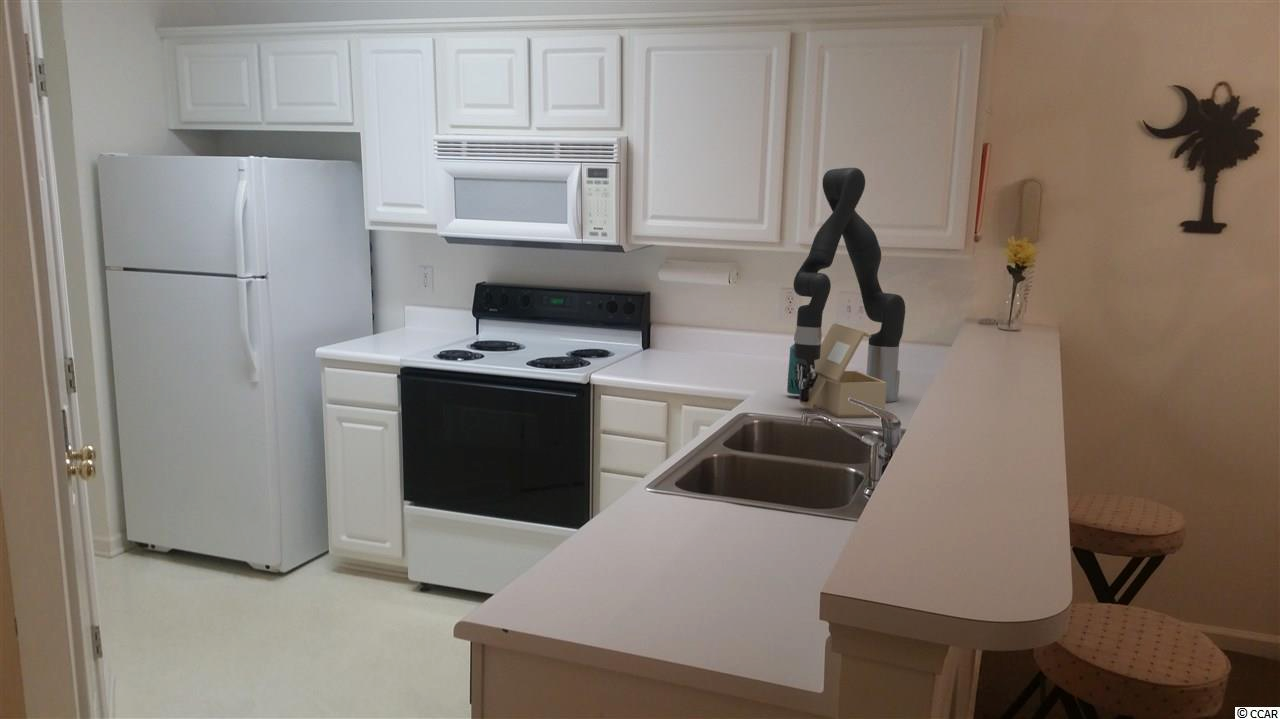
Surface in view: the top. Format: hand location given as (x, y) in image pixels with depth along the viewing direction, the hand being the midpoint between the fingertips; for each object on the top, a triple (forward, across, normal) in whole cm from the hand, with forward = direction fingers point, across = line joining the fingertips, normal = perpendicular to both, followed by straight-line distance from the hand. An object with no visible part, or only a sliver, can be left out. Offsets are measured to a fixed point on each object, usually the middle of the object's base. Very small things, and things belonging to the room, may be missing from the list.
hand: (803, 401), depth 273 cm
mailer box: (+3, 0, -14) cm, 14 cm away
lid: (-9, 0, -9) cm, 13 cm away
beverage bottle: (+3, +20, -6) cm, 21 cm away
